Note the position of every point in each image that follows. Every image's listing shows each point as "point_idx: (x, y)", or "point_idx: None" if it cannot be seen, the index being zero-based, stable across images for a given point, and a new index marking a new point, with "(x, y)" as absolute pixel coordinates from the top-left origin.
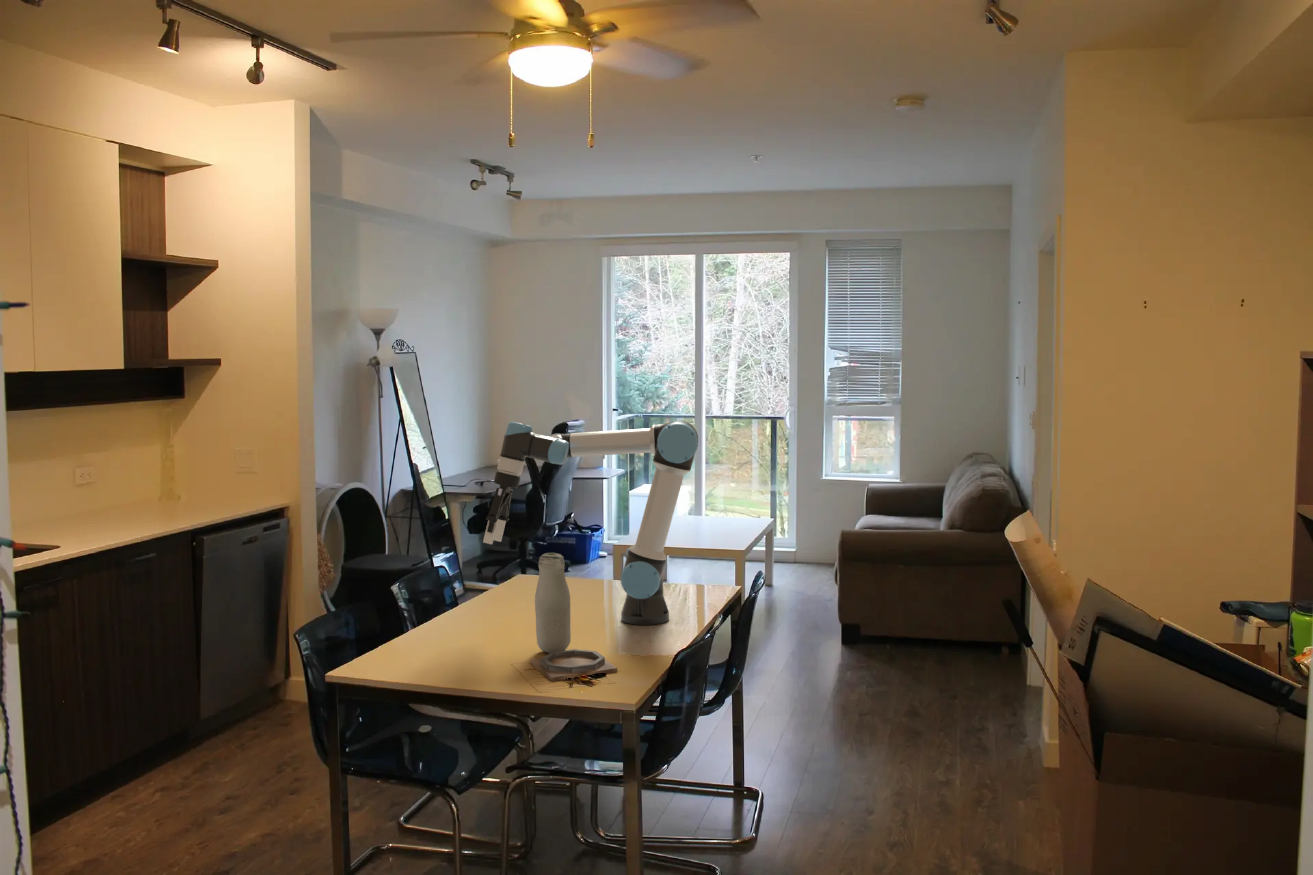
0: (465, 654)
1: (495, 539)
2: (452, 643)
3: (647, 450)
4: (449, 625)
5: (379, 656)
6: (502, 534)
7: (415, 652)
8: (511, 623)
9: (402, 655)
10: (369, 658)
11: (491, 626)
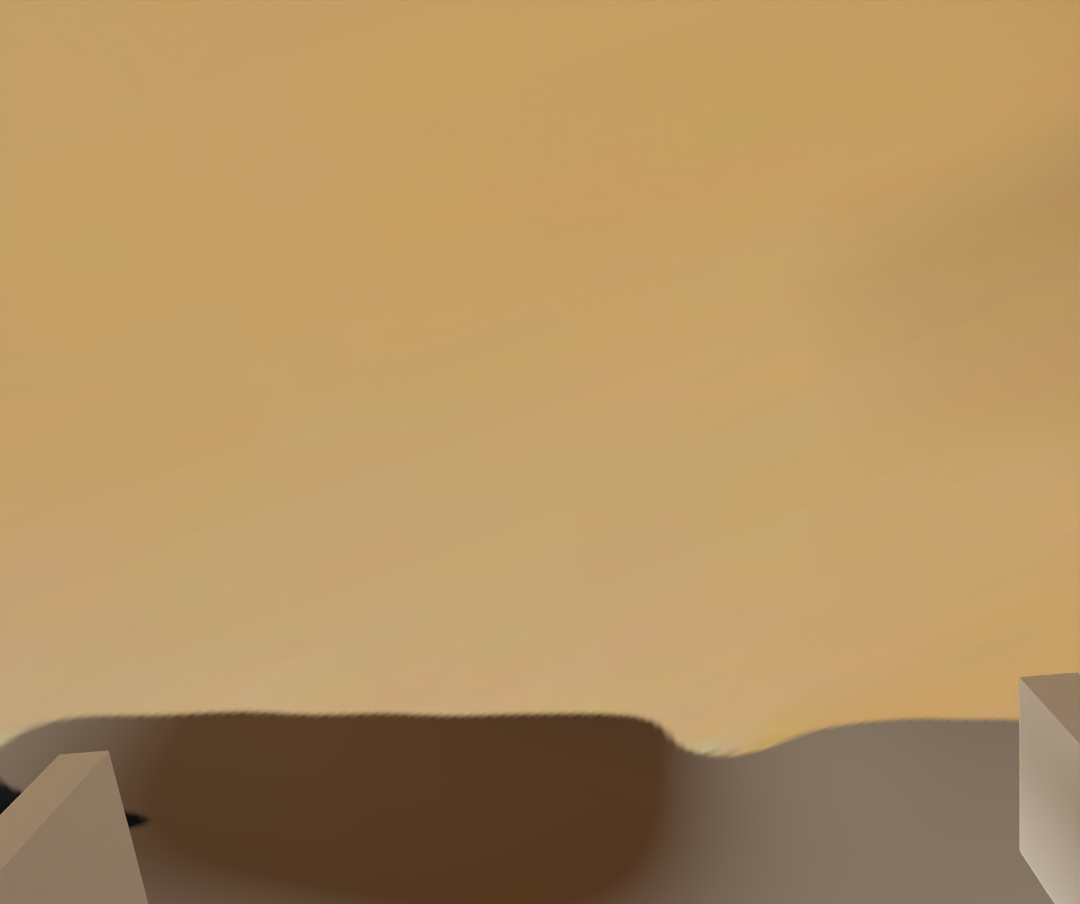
0: (1045, 259)
1: (122, 867)
2: (784, 435)
3: None
4: (359, 613)
5: None
6: (5, 854)
7: (972, 554)
8: (190, 227)
9: (1026, 591)
10: None
11: (319, 347)
